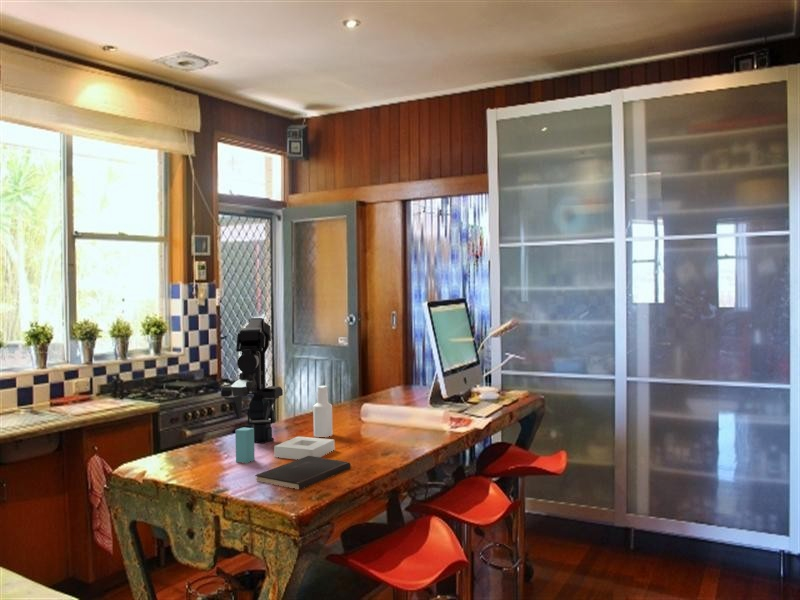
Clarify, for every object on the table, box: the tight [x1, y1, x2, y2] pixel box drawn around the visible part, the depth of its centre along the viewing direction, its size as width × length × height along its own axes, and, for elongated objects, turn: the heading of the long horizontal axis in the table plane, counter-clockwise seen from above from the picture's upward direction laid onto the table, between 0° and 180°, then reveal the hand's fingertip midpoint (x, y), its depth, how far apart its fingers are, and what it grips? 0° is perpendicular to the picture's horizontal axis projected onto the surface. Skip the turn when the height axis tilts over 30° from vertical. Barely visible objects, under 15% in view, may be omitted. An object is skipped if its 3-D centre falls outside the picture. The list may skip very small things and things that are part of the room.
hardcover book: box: [254, 456, 351, 491], centre depth 181 cm, size 16×23×2 cm
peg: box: [234, 427, 256, 464], centre depth 197 cm, size 4×4×10 cm
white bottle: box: [312, 385, 334, 438], centre depth 229 cm, size 7×7×18 cm
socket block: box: [273, 436, 336, 460], centre depth 204 cm, size 14×14×4 cm
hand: (252, 419), depth 196 cm, fingers open, 9 cm apart
